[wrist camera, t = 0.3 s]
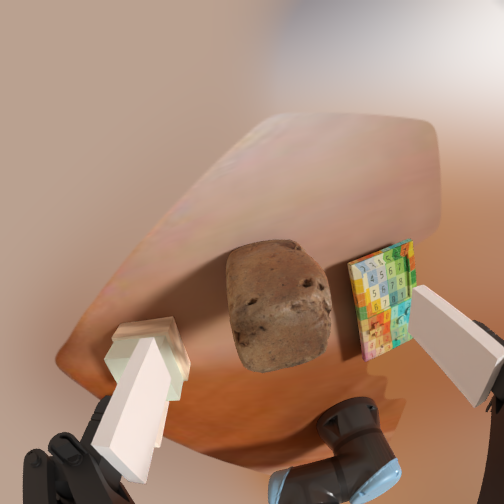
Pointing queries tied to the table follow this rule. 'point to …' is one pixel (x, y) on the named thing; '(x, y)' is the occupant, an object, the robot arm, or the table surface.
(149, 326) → the tower base
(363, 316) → the puzzle game
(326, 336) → the block
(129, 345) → the tower top
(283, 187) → the table surface
